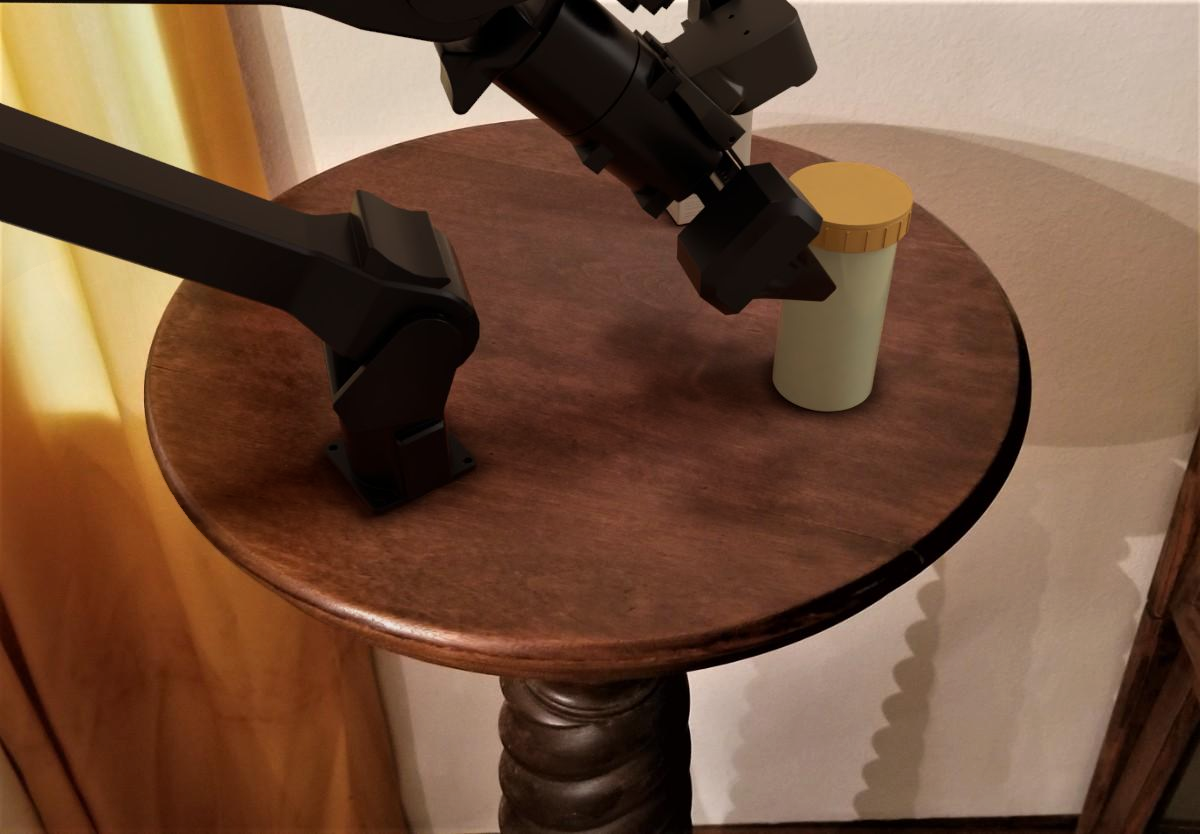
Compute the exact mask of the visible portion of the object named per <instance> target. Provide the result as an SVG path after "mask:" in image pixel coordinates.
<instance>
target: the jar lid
mask: <svg viewBox="0 0 1200 834" xmlns="http://www.w3.org/2000/svg"><path fill="white" fill-rule="evenodd" d="M788 179H789V180H790V181H791V182H792V183H793V184H794V185H795V186H796V187H797V188H798V189H799V190H800V191H801V192H802V193H803V194H804V196H805V197H806V198H807V199H808V201H809V202H810V203H811V204H812V205H813V207H814V208H815V209H816V210H817V211H818V213H819V214H820V215H821V216H822V218H823V221H822V225H821V229H820V233H819V235H818V236H817V237H816V238H815V239H813V240H812V241H811V242H810V243H809V244H810V245H812V246H815V247H818V248H821V249H825V250H830V251H835V252H844V253H862V252H871V251H876V250H880V249H883V248H886V247H889V246H891V245H893V244H895V243H896V242H898V243H899V242H900V241H901V240H902V239H903V237H904V236H905V235H906V233H908V232H909V228H910V223H911V219H912V218H911V217H912V214H913V208H914V194H913V191H912V189H911V187H910V186H909V184H908V183H907V182H906V181H905V180H903V178H901V177H900V176H898V175H897V174H895V173H893V172H891V171H889V170H887V169H884V168H881V167H878V166H874V165H871V164H867V163H861V162H854V161H829V162H820V163H815V164H813V165H808V166H806V167H803V168H801V169H799V170H797V171H795V172H793V174H792V175H790V177H788Z"/></svg>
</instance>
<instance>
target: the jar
mask: <svg viewBox="0 0 1200 834" xmlns="http://www.w3.org/2000/svg"><path fill="white" fill-rule="evenodd" d="M898 245H899V241H898V242H896V243H895V244H893V245H891V246H889V247H886V248H883V249H880V250H876V251H871V252H862V253H844V252H835V251H830V250H825V249H821V248H818V247H815V246H812V245H810V244H808V246H809V248H810V249H811V251H812V252H813V253H814V255H815V256H816V258H817V259H818V261H819V262H820V263H821V265H822V266H823V268H824V269H825V270H826V272H827V273H828V275H829V276H830V277H831V279H832V280H833V282H834V283H835V284H836V286H837V288H836V290H835V291H834V292H833V293H832V294H831V295H830V296H829V297H828V298H827V299H826V300H825V301H823V302H815V301H799V300H782V299H779V307H778V308H779V309H778V317H777V327H776V335H775V346H774V355H773V366H772V374H771V375H772V383H773V385H774V387H775V389H776V390H777V392H778V393H779V394H780V395H781V396H782V397H783V398H784V399H785V400H787V401H789V402H790V403H792V404H794V405H796V406H799V407H801V408H804V409H806V410H812V411H816V412H827V413H828V412H840V411H846V410H849V409H852V408H854V407H856V406H859V405H860V404H862V403H863V402H864V401H865V400H867V398H868V397H869V396H870V394H871V393H872V390H873V385H874V379H875V374H876V369H877V363H878V357H879V353H880V347H881V340H882V336H883V335H882V334H883V328H884V323H885V318H886V312H887V308H888V307H887V306H888V301H889V296H890V290H891V284H892V278H893V273H894V267H895V262H896V256H897V250H898Z"/></svg>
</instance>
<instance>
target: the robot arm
mask: <svg viewBox="0 0 1200 834" xmlns="http://www.w3.org/2000/svg"><path fill="white" fill-rule="evenodd" d="M675 1H676V0H616V2H618V3H619V4H620V5H621V6H622V7H624V9H626V10H627V11H628V12H630V13H632V14H634V13H635V12H636V11H637V10H638V9H639V7H640V6H642V8H644V9H645V10H646V11H648V13H649V14H651V15H652V16H656V15H657V13H658V12H659V11H660V10H661V9H662V8H663V9H664V10H665V11H666V10H668V9H669V8H670V7H671V6H672V4H674V2H675ZM0 4H78V5H79V4H80V5H81V4H82V5H83V4H84V5H86V4H88V5H89V4H92V5H93V4H94V5H96V4H97V5H203V6H204V5H206V6H207V5H209V6H211V5H212V6H213V5H215V6H216V5H217V6H219V5H222V6H278V7H285V8H291V9H296V10H302V11H307V12H310V13H312V14H316V15H319V16H321V17H324V18H327V19H330V20H333V21H336V22H338V23H340V24H341V23H342V24H344V25H347V26H348V27H353V28H355V29H357V30H361V31H365V32H371V33H376V34H383V35H389V36H394V37H400V38H406V39H411V40H417V41H423V42H427V43H428V42H429V43H432V44H433V46H434V48H435V50H436V51H435V52H436V53H437V55H438V58H439V63H440V73H439V78H440V83H441V85H442V89H443V90H444V92H445V95H446V97H447V100H448V102H449V105H450V107H451V110H452V111H453V113H454V114H456V115H458V116H464V115H466V114H468V112H469V111H470V110H471V109H472V108H473V106H474V105H475V104H476V103H477V102H478V100H479V99H480V98H481V97H482V96H483V94H484V93H485V92H486V91H487V90H488V89H489V87H490V86H491V85H492V84H493V85H494V86H495V87H497V88H498V89H500V90H501V91H502V92H503V93H505V94H506V95H507V96H509V97H510V98H511V99H512V100H514V101H515V102H516V103H518V105H521V106H522V107H523V108H524V109H526V110H527V111H528V112H530V113H531V114H532V115H533V116H535V117H536V118H537V119H539V120H540V121H541V122H543V123H544V124H545V125H546V126H548V127H549V128H550V129H552V130H553V131H555V132H556V133H557V134H558V135H560V136H561V137H562V138H563V139H565V140H566V141H568V142H569V143H570V144H571V145H572V147H573V149H574V151H575V153H576V154H577V156H578V158H579V160H580V162H581V164H582V165H583V166H585V167H586V168H587V169H589V170H590V171H591V172H592V173H594V174H595V175H597V176H599V175H600V173H601V172H602V171H603V170H605V171H607V172H608V173H609V174H611V176H613V177H614V178H615V179H617V180H618V181H620V182H621V183H622V184H624V185H625V186H626V187H627V188H629V189H630V191H631V193H632V194H633V196H634V198H635V199H636V201H637V203H638V205H639V206H640V208H641V209H642V210H643V211H644V212H646V213H647V214H648V215H649V216H651V217H652V218H653V219H655V220H657V219H659V217H660V216H661V215H662V214H663V213H664V211H666V210H667V209H666V208H667V207H668V206H669V205H670V204H671V203H672V202H673V201H674V200H675V201H676V202H677V203H679V202H681V201H683V200H685V199H687V198H688V197H689V196H691V195H692V194H696V195H697V196H698V198H699V199H700V201H701V202H702V204H703V205H704V208H703V209H702V210H701V211H700V212H699V213H698V214H697V215H696V216H695V217H694V218H693V219H692V221H691V222H690V223H687V225H685V227H683V229H682V230H681V231H680V232H679V233H678V234H677V236H676V237H677V238H676V241H677V242H676V244H677V245H676V260H677V261H678V263H679V264H680V267H681V269H682V270H683V271H684V273H685V274H686V276H687V278H688V279H689V281H690V283H691V285H692V287H693V288H694V290H695V291H696V293H697V294H698V296H699V298H701V299H702V300H703V301H705V302H706V303H707V304H709V305H710V306H711V307H712V308H715V309H716V310H717V311H719V312H720V313H721V314H722V315H724V316H732V315H738V314H740V313H741V312H742V311H743V310H744V309H745V308H746V307H747V306H748V305H749V304H750V303H751V302H752V301H753V300H780V299H782V300H799V301H815V302H823V301H825V300H826V299H827V298H828V297H829V296H830V295H831V294H832V293H833V292H834V291H835V290H836V288H837V286H836V284H835V283H834V282H833V280H832V279H831V277H830V276H829V275H828V273H827V272H826V270H825V269H824V268H823V266H822V265H821V263H820V262H819V261H818V259H817V258H816V256H815V255H814V253H813V252H812V251H811V249H810V248H809V246H808V244H809V243H810V242H811V241H812V240H813V239H815V238H816V237H817V236H818V235H819V233H820V229H821V225H822V221H823V218H822V216H821V215H820V214H819V213H818V211H817V210H816V209H815V208H814V207H813V205H812V204H811V203H810V202H809V201H808V199H807V198H806V197H805V196H804V194H803V193H802V192H801V191H800V190H799V189H798V188H797V187H796V186H795V185H794V184H793V183H792V182H791V181H790V180H789V177H788V176H787V175H786V174H784V173H783V171H781V170H780V169H779V168H778V167H777V166H776V165H774V163H772V162H771V161H767V162H760V163H754V164H750V165H747V166H745V165H744V164H743V162H742V161H741V160H740V158H739V157H738V156H737V154H736V153H735V151H734V150H733V149H732V146H733V145H734V144H735V143H736V142H737V141H738V140H739V139H740V138H741V137H742V136H743V135H744V134H745V132H746V131H745V130H744V128H743V127H742V126H741V125H740V123H738V122H737V121H736V120H735V119H734V118H733V117H732V116H731V115H734V116H737V115H742V114H745V113H748V112H750V111H752V110H753V111H754V110H755V109H757V108H759V107H760V106H761V105H764V104H765V103H767V102H768V101H770V100H772V99H773V98H775V97H777V96H779V95H780V94H782V93H784V92H786V91H787V90H789V89H791V88H793V87H794V88H799V87H801V86H803V85H804V84H806V83H808V82H810V81H811V80H812V78H813V77H814V76H815V75H816V74H817V72H818V63H817V61H816V59H815V56H814V53H813V50H812V47H811V44H810V42H809V40H808V37H807V34H806V31H805V29H804V25H803V23H802V20H801V17H800V15H799V13H798V10H797V8H796V7H795V6H793V5H792V4H791V3H790V2H789V1H788V0H687V10H686V11H687V12H686V16H687V17H686V18H687V19H684V20H683V21H681V22H680V25H681V28H682V30H683V32H682V33H680V34H678V36H676V37H675V38H673V39H672V40H670V41H668V42H661V41H660V40H659V39H658V38H657V37H655V36H654V35H653V34H652V33H651V32H650V31H649V30H647V29H646V30H645V31H644V32H643V33H641V32H640V31H639V30H638V29H634V30H633V31H632V30H631V29H630V28H629V27H627V25H625V24H624V23H623V21H621V20H620V19H619V18H617V16H616V15H614V14H613V13H612V12H611V11H610V10H609V9H607V8H606V7H605V6H604V5H603V4H602V3H601V2H599V1H598V0H0ZM351 202H352V203H351V206H350V210H349V212H337V213H328V214H327V213H325V214H311V213H307V212H302V211H299V210H297V209H294V208H291V207H288V206H285V205H282V204H280V203H277V202H274V201H272V200H269V199H267V198H263V197H260V196H258V195H255V194H252V193H249V192H247V191H244V190H241V189H240V188H239V189H238V188H236V187H233V186H231V185H227V184H225V183H222V182H219V181H216V180H214V179H211V178H208V177H205V176H202V175H200V174H197V173H194V172H192V171H189V170H186V169H183V168H181V167H178V166H175V165H172V164H170V163H167V162H164V161H162V160H160V159H159V160H158V159H156V158H153V157H150V156H147V155H145V154H142V153H139V152H136V151H134V150H131V149H129V148H125V147H123V146H120V145H117V144H116V143H115V144H114V143H111V142H109V141H106V140H104V139H101V138H98V137H95V136H92V135H89V134H87V133H84V132H81V131H79V130H76V129H73V128H70V127H68V126H65V125H62V124H60V123H57V122H54V121H51V120H49V119H46V118H43V117H40V116H38V115H34V114H32V113H29V112H26V111H24V110H21V109H18V108H15V107H13V106H10V105H7V104H5V103H2V102H0V223H4V224H6V225H9V226H13V227H17V228H20V229H22V230H26V231H29V232H32V233H35V234H39V235H41V236H45V237H48V238H52V239H55V240H58V241H61V242H65V243H67V244H70V245H74V246H77V247H79V248H82V249H86V250H89V251H92V252H96V253H99V254H102V255H105V256H108V257H112V258H115V259H118V260H121V261H125V262H128V263H131V264H134V265H137V266H139V267H140V266H141V267H144V268H147V269H150V270H154V271H155V272H156V271H157V272H159V273H162V274H167V275H169V276H173V277H175V278H179V279H181V280H185V281H188V282H191V283H195V284H198V285H200V286H203V287H208V288H211V289H213V290H217V291H220V292H223V293H226V294H230V295H232V296H236V297H239V298H242V299H246V300H248V301H252V302H255V303H258V304H262V305H265V306H268V307H270V308H271V307H272V308H274V309H277V310H280V311H281V312H284V313H286V314H289V315H290V316H291V317H293V318H294V319H295V320H296V321H298V322H299V323H300V324H302V325H303V326H304V327H305V328H306V329H308V331H310V332H311V333H313V334H314V335H315V336H316V337H318V338H319V339H320V340H321V345H322V350H323V356H324V363H325V368H326V375H327V382H328V387H329V392H330V399H331V406H332V410H333V411H334V413H335V414H336V415H337V416H338V422H339V425H340V430H341V431H340V432H341V435H342V437H340V438H338V439H336V440H333V441H331V442H329V443H327V444H326V445H325V446H324V454H325V457H326V459H328V460H329V462H330V463H331V465H333V467H334V468H335V469H336V471H338V473H339V474H340V475H341V477H342V478H343V479H344V480H345V482H346V483H347V484H348V485H349V486H350V488H351V489H352V490H353V491H354V493H355V494H356V495H357V496H358V497H359V499H360V500H361V501H362V502H363V504H364V505H365V506H366V507H367V508H368V510H369V511H370V512H371V513H372V514H373V515H376V516H382V515H384V514H387V513H389V512H391V511H393V510H396V509H397V508H400V507H402V506H403V505H405V504H408V503H409V502H411V501H414V500H416V499H417V498H419V497H422V496H424V495H426V494H428V493H430V492H432V491H435V490H436V489H438V488H440V487H443V486H444V485H447V484H449V483H451V482H453V481H456V480H457V479H460V478H461V477H463V476H465V475H467V474H469V473H471V472H473V471H475V470H476V469H477V467H478V462H477V458H476V456H475V455H474V454H473V453H472V452H471V451H470V450H469V449H468V448H467V447H466V446H465V445H464V444H463V443H462V442H461V441H460V440H459V439H458V437H456V435H455V434H453V433H452V431H450V429H449V427H448V420H447V419H448V418H447V411H446V404H447V401H448V398H449V394H450V391H451V388H452V386H453V382H454V379H455V376H456V373H457V369H458V368H460V367H461V366H463V365H464V364H465V363H466V361H467V360H468V359H469V358H470V357H471V356H472V354H473V353H474V352H475V350H476V347H477V345H478V342H479V340H480V335H481V334H480V333H481V332H480V331H481V330H480V329H481V328H480V326H481V322H480V320H479V316H478V313H477V310H476V307H475V305H474V301H473V299H472V296H471V293H470V290H469V287H468V284H467V281H466V278H465V276H464V273H463V270H462V267H461V263H460V261H459V258H458V256H457V253H456V250H455V247H454V246H453V244H452V242H451V240H450V238H448V236H446V234H444V233H443V232H442V231H441V230H439V229H437V228H436V227H435V226H434V224H433V222H432V219H431V216H430V213H429V211H428V210H410V209H406V208H402V207H399V206H395V205H393V204H391V203H389V202H387V201H386V200H385V199H383V198H381V197H379V196H377V195H375V194H374V193H372V192H370V191H367V190H363V189H357V190H356V191H355V192H354V195H353V198H352V201H351Z"/></svg>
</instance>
